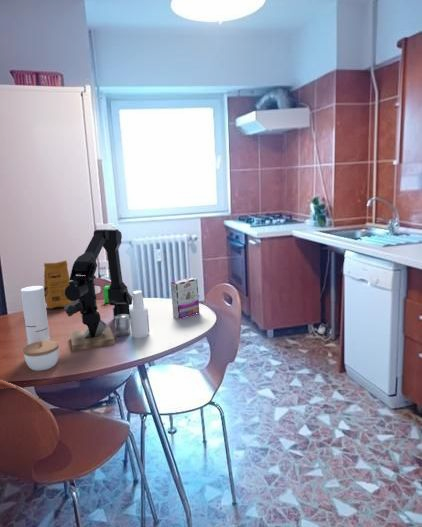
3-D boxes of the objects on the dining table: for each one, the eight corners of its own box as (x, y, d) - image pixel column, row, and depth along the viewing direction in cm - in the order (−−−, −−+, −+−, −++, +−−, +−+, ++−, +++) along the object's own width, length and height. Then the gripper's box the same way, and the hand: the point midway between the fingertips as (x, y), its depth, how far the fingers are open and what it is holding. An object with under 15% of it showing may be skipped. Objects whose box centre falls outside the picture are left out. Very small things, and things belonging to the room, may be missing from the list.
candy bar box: (193, 312, 191) (191, 276, 188) (199, 314, 187) (198, 278, 184) (172, 318, 184) (170, 281, 181) (178, 320, 180) (176, 283, 177)
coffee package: (45, 304, 213) (39, 261, 209) (70, 300, 218) (65, 258, 214) (47, 309, 204) (41, 265, 200) (73, 305, 210) (68, 261, 205)
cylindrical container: (33, 354, 152) (24, 286, 147) (54, 352, 152) (46, 285, 147) (27, 362, 145) (17, 291, 140) (48, 361, 145) (39, 290, 140)
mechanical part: (115, 302, 212) (114, 287, 210) (104, 302, 213) (103, 287, 211) (125, 296, 223) (124, 281, 222) (115, 295, 224) (113, 281, 223)
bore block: (109, 333, 169) (109, 325, 169) (115, 346, 156) (114, 338, 155) (71, 339, 164) (70, 332, 164) (73, 353, 151) (72, 345, 150)
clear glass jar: (129, 332, 169) (127, 313, 168) (132, 336, 164) (130, 317, 163) (115, 334, 167) (113, 315, 166) (117, 339, 162) (115, 319, 161)
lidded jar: (26, 365, 142) (22, 339, 140) (59, 359, 146) (56, 333, 145) (26, 378, 133) (22, 350, 131) (62, 371, 137) (58, 344, 135)
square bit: (92, 339, 162) (105, 323, 162) (92, 343, 158) (106, 326, 159) (83, 334, 160) (97, 317, 161) (84, 337, 157) (98, 320, 157)
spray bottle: (152, 334, 166) (149, 289, 163) (144, 340, 160) (140, 294, 156) (137, 332, 168) (133, 288, 165) (128, 339, 162) (124, 293, 158)
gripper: (63, 290, 162) (68, 329, 165) (65, 302, 145) (70, 345, 148) (93, 286, 166) (97, 324, 169) (98, 298, 148) (102, 340, 152)
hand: (91, 333), depth 159 cm, fingers open, 9 cm apart
